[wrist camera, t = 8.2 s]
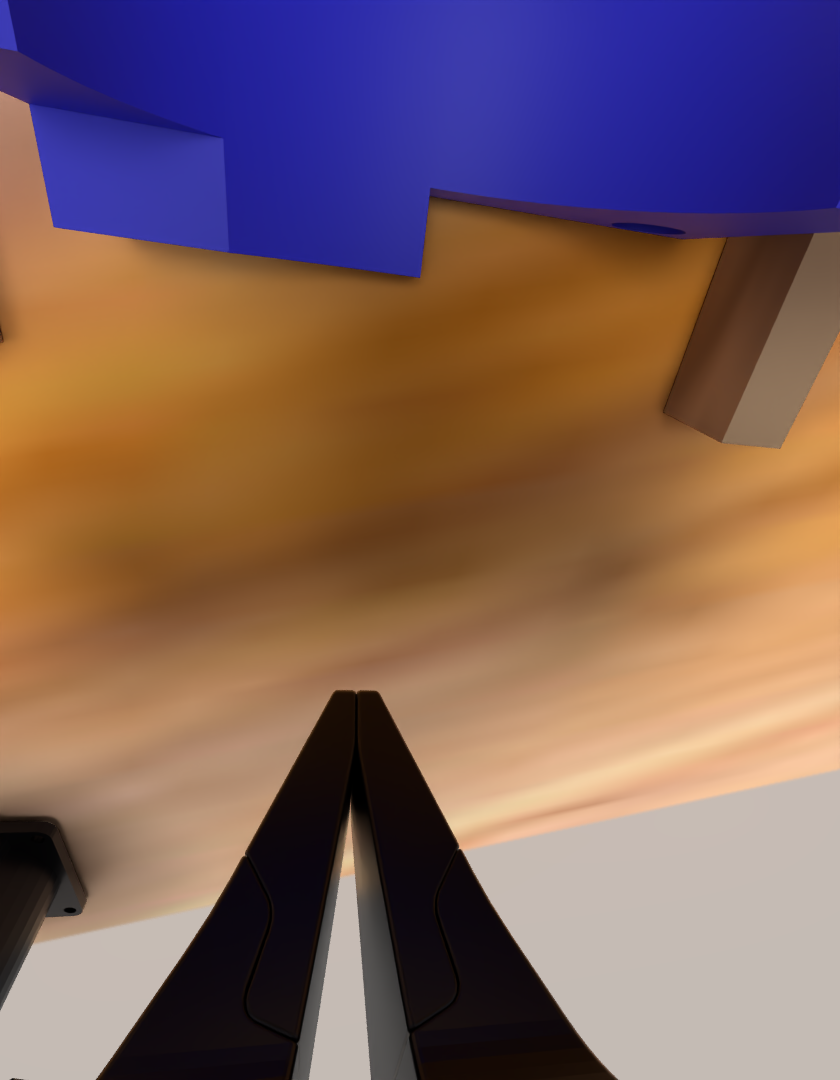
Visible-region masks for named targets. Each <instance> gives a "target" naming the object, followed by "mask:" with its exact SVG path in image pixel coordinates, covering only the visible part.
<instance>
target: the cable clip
mask: <svg viewBox="0 0 840 1080" xmlns="http://www.w3.org/2000/svg"><path fill="white" fill-rule="evenodd" d="M0 91H2V92H4V93H6V94H8V95H11V96H13V97H15V98H17V99H19V100H22V101H24V102H26V103H28V104H29V106H30V111H31V116H32V121H33V126H34V131H35V136H36V141H37V146H38V151H39V156H40V161H41V166H42V171H43V176H44V181H45V186H46V191H47V196H48V201H49V206H50V211H51V216H52V221H53V226H54V227H56V228H62V229H69V230H76V231H83V232H90V233H97V234H104V235H111V236H118V237H125V238H132V239H139V240H146V241H152V242H159V243H166V244H173V245H180V246H187V247H194V248H201V249H208V250H215V251H222V252H229V253H237V254H245V255H253V256H262V257H270V258H278V259H286V260H293V261H301V262H309V263H317V264H324V265H332V266H339V267H346V268H354V269H361V270H368V271H376V272H383V273H390V274H397V275H404V276H411V277H418V278H420V274H421V266H422V257H423V248H424V240H425V231H426V222H427V214H428V205H429V196H432V197H438V198H443V199H449V200H455V201H461V202H467V203H473V204H478V205H484V206H490V207H496V208H502V209H508V210H514V211H519V212H525V213H531V214H537V215H543V216H549V217H555V218H560V219H566V220H572V221H578V222H584V223H590V224H596V225H601V226H607V227H613V228H619V229H625V230H631V231H636V232H642V233H648V234H654V235H660V236H666V237H672V238H677V239H699V238H721V237H742V236H764V235H785V234H807V233H828V232H840V0H0Z"/></svg>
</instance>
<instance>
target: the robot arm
mask: <svg viewBox="0 0 840 1080" xmlns="http://www.w3.org/2000/svg"><path fill="white" fill-rule="evenodd" d="M350 802H351V827H352V840H353V853H354V866H355V879H356V891H357V904H358V917H359V930H360V942H361V955H362V969H363V981H364V995H365V1006H366V1019H367V1032H368V1046H369V1058H370V1072H371V1080H618V1079H617V1078H616V1077H615V1076H614V1075H613V1074H612V1073H611V1072H610V1071H609V1070H608V1069H607V1068H606V1067H605V1066H604V1065H603V1064H602V1063H601V1062H600V1061H599V1059H598V1058H597V1057H596V1056H595V1055H594V1053H593V1052H592V1051H591V1050H590V1049H589V1047H588V1046H587V1045H586V1044H585V1042H584V1041H583V1040H582V1038H581V1037H580V1036H579V1034H578V1033H577V1032H576V1030H575V1029H574V1028H573V1026H572V1024H571V1023H570V1022H569V1020H568V1019H567V1017H566V1016H565V1014H564V1013H563V1011H562V1010H561V1009H560V1007H559V1005H558V1004H557V1002H556V1001H555V999H554V998H553V996H552V995H551V993H550V992H549V991H548V989H547V988H546V986H545V984H544V983H543V981H542V980H541V978H540V977H539V976H538V974H537V973H536V971H535V970H534V968H533V967H532V965H531V964H530V962H529V961H528V959H527V958H526V956H525V955H524V953H523V952H522V950H521V949H520V947H519V946H518V944H517V943H516V941H515V940H514V938H513V937H512V935H511V934H510V932H509V930H508V929H507V927H506V926H505V924H504V923H503V921H502V919H501V918H500V917H499V915H498V913H497V912H496V910H495V908H494V907H493V905H492V904H491V902H490V900H489V899H488V897H487V895H486V893H485V892H484V890H483V888H482V886H481V884H480V883H479V881H478V879H477V877H476V875H475V874H474V872H473V870H472V868H471V866H470V864H469V863H468V861H467V859H466V857H465V855H464V853H463V851H462V850H461V849H459V844H458V842H457V840H456V838H455V836H454V834H453V832H452V831H451V829H450V827H449V825H448V823H447V821H446V819H445V817H444V815H443V813H442V812H441V810H440V808H439V806H438V804H437V802H436V800H435V798H434V796H433V794H432V792H431V791H430V789H429V787H428V785H427V783H426V781H425V779H424V777H423V775H422V773H421V771H420V770H419V768H418V766H417V764H416V762H415V760H414V758H413V756H412V754H411V752H410V751H409V749H408V747H407V745H406V743H405V741H404V739H403V737H402V735H401V733H400V731H399V730H398V728H397V726H396V724H395V722H394V720H393V718H392V716H391V714H390V712H389V711H388V709H387V707H386V705H385V703H384V701H383V699H382V697H381V695H380V694H379V692H377V691H364V690H360V691H358V692H357V694H356V692H355V691H353V690H336V691H335V692H334V693H333V694H332V696H331V697H330V699H329V701H328V703H327V705H326V707H325V708H324V710H323V712H322V714H321V716H320V717H319V719H318V721H317V723H316V725H315V726H314V728H313V730H312V732H311V734H310V736H309V737H308V739H307V741H306V743H305V745H304V746H303V748H302V750H301V752H300V754H299V756H298V757H297V759H296V761H295V763H294V765H293V766H292V768H291V770H290V772H289V774H288V775H287V777H286V779H285V781H284V783H283V785H282V786H281V788H280V790H279V792H278V794H277V795H276V797H275V799H274V801H273V803H272V804H271V806H270V808H269V810H268V812H267V814H266V815H265V817H264V819H263V821H262V823H261V824H260V826H259V828H258V830H257V832H256V833H255V835H254V837H253V839H252V841H251V843H250V844H249V846H248V848H247V850H246V852H245V856H243V857H242V858H241V860H240V862H239V864H238V866H237V867H236V869H235V871H234V873H233V875H232V876H231V878H230V880H229V882H228V883H227V885H226V887H225V889H224V890H223V892H222V894H221V895H220V897H219V899H218V900H217V902H216V904H215V906H214V907H213V909H212V911H211V912H210V914H209V916H208V917H207V919H206V920H205V922H204V924H203V925H202V926H201V928H200V929H199V931H198V933H197V934H196V936H195V937H194V939H193V940H192V942H191V943H190V945H189V946H188V948H187V949H186V951H185V953H184V954H183V955H182V957H181V959H180V960H179V961H178V963H177V964H176V966H175V967H174V969H173V970H172V971H171V973H170V974H169V976H168V977H167V979H166V980H165V981H164V983H163V984H162V986H161V987H160V989H159V990H158V992H157V993H156V994H155V996H154V997H153V999H152V1000H151V1002H150V1003H149V1005H148V1006H147V1008H146V1009H145V1010H144V1012H143V1013H142V1015H141V1016H140V1018H139V1019H138V1021H137V1022H136V1023H135V1025H134V1026H133V1028H132V1029H131V1031H130V1032H129V1034H128V1035H127V1036H126V1038H125V1039H124V1041H123V1042H122V1044H121V1045H120V1047H119V1048H118V1049H117V1051H116V1053H115V1054H114V1055H113V1057H112V1058H111V1059H110V1061H109V1062H108V1064H107V1065H106V1067H105V1068H104V1069H103V1071H102V1072H101V1073H100V1075H99V1076H98V1078H97V1079H96V1080H309V1073H310V1068H311V1061H312V1054H313V1048H314V1042H315V1034H316V1028H317V1022H318V1016H319V1009H320V1003H321V996H322V990H323V983H324V977H325V970H326V964H327V957H328V951H329V944H330V938H331V931H332V925H333V918H334V912H335V905H336V899H337V892H338V885H339V880H340V873H341V867H342V860H343V854H344V847H345V841H346V834H347V828H348V820H349V812H350ZM86 902H87V899H86V896H85V894H84V891H83V889H82V887H81V884H80V882H79V879H78V877H77V874H76V872H75V870H74V867H73V865H72V862H71V860H70V857H69V855H68V853H67V850H66V848H65V845H64V843H63V840H62V838H61V836H60V833H59V831H58V828H57V827H56V826H55V825H53V824H51V823H48V822H41V821H37V822H0V1010H1V1008H2V1006H3V1003H4V1002H5V1000H6V998H7V995H8V993H9V991H10V989H11V987H12V985H13V983H14V981H15V979H16V977H17V975H18V973H19V971H20V968H21V967H22V964H23V962H24V960H25V958H26V956H27V954H28V952H29V950H30V948H31V946H32V944H33V942H34V940H35V937H36V935H37V933H38V931H39V929H40V927H41V925H42V923H43V921H44V919H45V917H60V916H75V915H79V914H81V913H82V912H83V909H84V907H85V905H86ZM11 1080H22V1079H15V1078H12V1079H11Z"/></svg>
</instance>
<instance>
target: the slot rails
mask: <svg viewBox="0 0 840 1080" xmlns="http://www.w3.org/2000/svg"><path fill="white" fill-rule="evenodd" d="M839 331H840V232H828V233H807V234H785V235H764V236H742V237H728V239H727V242H726V245H725V247H724V250H723V253H722V256H721V258H720V261H719V264H718V266H717V269H716V272H715V274H714V277H713V280H712V283H711V285H710V288H709V291H708V293H707V296H706V299H705V301H704V304H703V307H702V310H701V312H700V315H699V318H698V320H697V323H696V326H695V328H694V331H693V334H692V337H691V339H690V342H689V345H688V347H687V350H686V353H685V355H684V358H683V361H682V364H681V366H680V369H679V372H678V374H677V377H676V380H675V383H674V385H673V388H672V391H671V393H670V396H669V399H668V401H667V404H666V407H665V410H664V413H666V414H668V415H669V416H671V417H673V418H675V419H677V420H679V421H681V422H683V423H685V424H686V425H688V426H690V427H692V428H694V429H696V430H698V431H700V432H702V433H704V434H705V435H707V436H709V437H711V438H713V439H715V440H717V441H719V442H721V443H726V444H737V445H747V446H757V447H767V448H777V449H780V448H781V446H782V444H783V442H784V440H785V438H786V436H787V434H788V432H789V430H790V428H791V426H792V424H793V422H794V420H795V418H796V416H797V414H798V412H799V410H800V408H801V407H802V405H803V403H804V401H805V399H806V397H807V395H808V393H809V391H810V389H811V387H812V385H813V383H814V381H815V379H816V377H817V375H818V373H819V371H820V369H821V367H822V365H823V363H824V361H825V359H826V357H827V355H828V353H829V351H830V349H831V347H832V345H833V343H834V341H835V339H836V337H837V335H838V333H839ZM2 342H3V339H2V336H1V332H0V343H2Z"/></svg>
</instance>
